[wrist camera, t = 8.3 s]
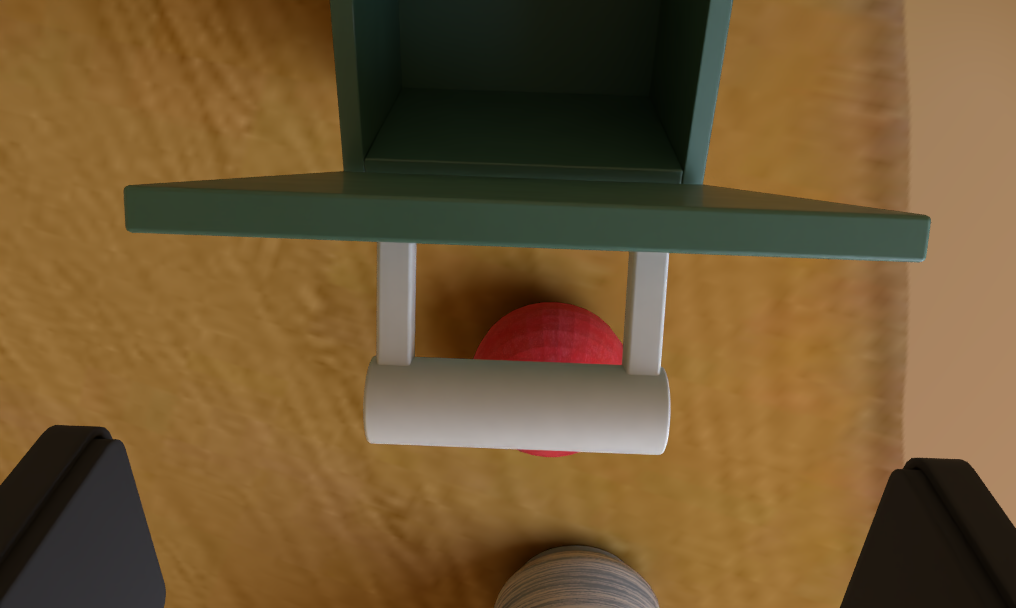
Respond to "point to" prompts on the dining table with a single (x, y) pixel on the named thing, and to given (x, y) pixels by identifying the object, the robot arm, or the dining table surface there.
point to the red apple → (551, 341)
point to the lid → (533, 224)
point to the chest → (529, 87)
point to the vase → (576, 582)
